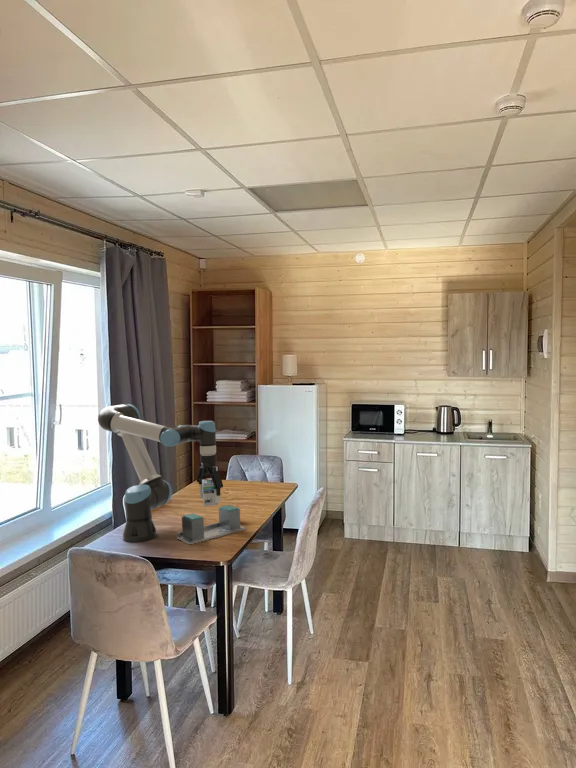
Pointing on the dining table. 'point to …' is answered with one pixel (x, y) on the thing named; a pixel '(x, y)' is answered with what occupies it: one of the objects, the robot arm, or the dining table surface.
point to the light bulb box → (208, 492)
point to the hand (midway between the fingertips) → (210, 500)
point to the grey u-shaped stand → (210, 526)
